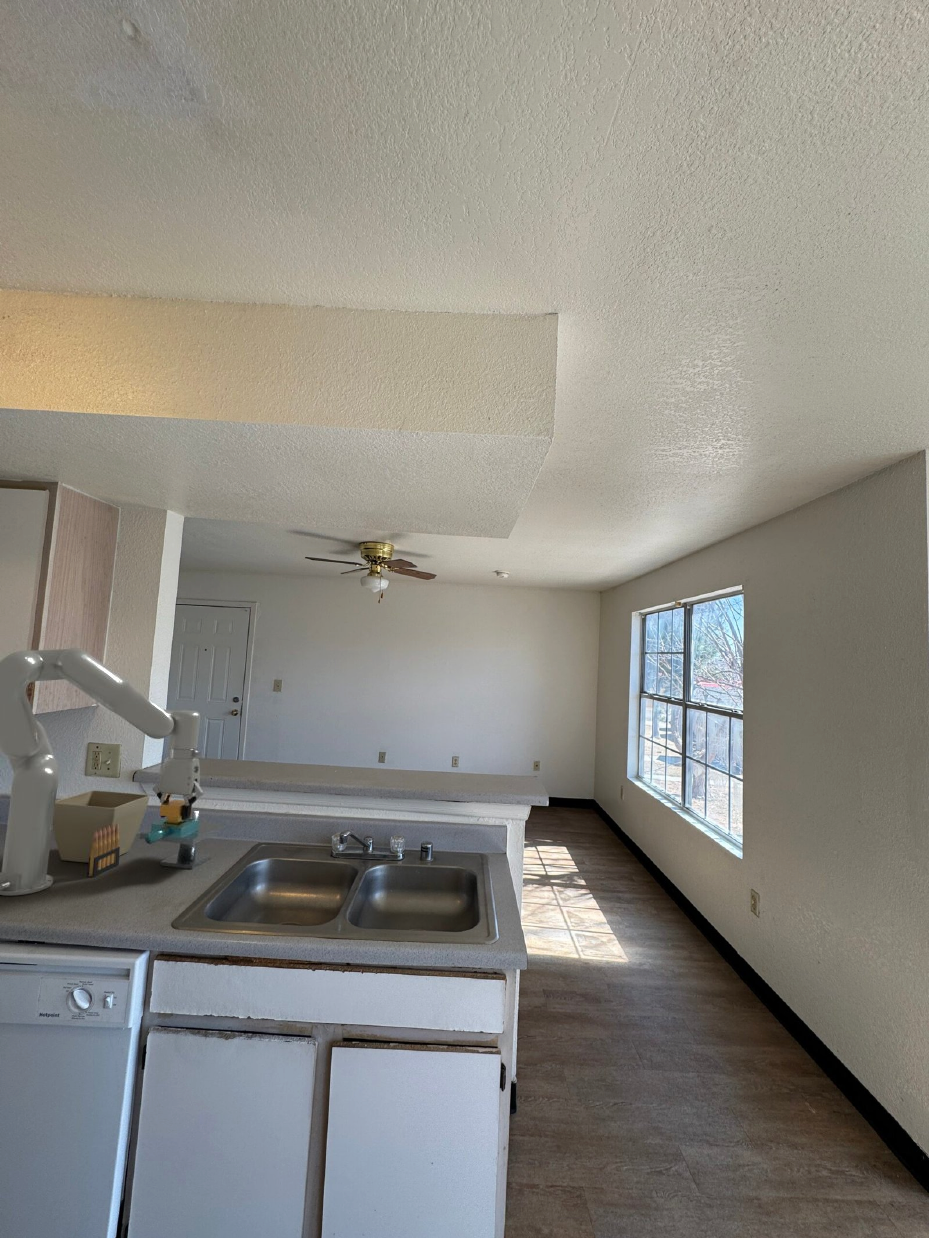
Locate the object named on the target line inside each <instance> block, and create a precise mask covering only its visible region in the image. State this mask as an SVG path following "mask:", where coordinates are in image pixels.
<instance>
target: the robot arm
mask: <svg viewBox="0 0 929 1238" xmlns="http://www.w3.org/2000/svg"><path fill="white" fill-rule="evenodd" d="M60 680H65V681H66V682H68V683H69V684H71V685H73V686H74V687H76V688H77V689H78V690H80V691H82V692H83V693H84V694H86V695H87V696H89V697H90V698H91V699H93V700H95V701H96V702H97V703H98V704H100V705H101V706H103V707H104V708H106V709H107V710H108V711H110V712H111V713H114V714H116V715H117V716H119V717H120V718H122V719H124V720H125V722H127V723H128V724H130V725H132V726H133V727H135V728H136V729H137V730H139V731H140V732H142V733H143V734H144V735H146V736H147V737H149V738H151V739H154V740H162V739H165V738H166V737H168V736H169V739H168V740H169V743H168V751H167V757H165V758H164V761H163V765H162V769H161V773H160V777H159V781H158V783H156V784H155V785H154V786H153V787H152V791H153V792H154V794H155V795H156V797H157V798H158V800H159V803H161V804H164V803H167V802H169V801H170V799H171V797H172V796H173V795H178V796H182V797H183V801H184V803H185V805H184V806H183V810H182V817H181V819H182V820H186V819H188V818H189V817H190V815H191V808H193V804H194V803H195V802H196V801H197V800H199V799H200V798H201V797H202V796H203V795H204V794H205V793H204V791H203V789H202V788H201V786H200V783H201V768H200V767H201V766H200V758H197V757H200V756H201V751H200V750H198V743H199V734H200V725H201V714H200V712H199V711H197V710H192V709H191V710H188V709H182V710H172V709H171V710H170V709H163V708H160V707H159V706H158V705H156V704H155V703H154V702H152V701H151V700H149V699H148V698H147V697H145V696H144V695H143V694H142V693H140V692H139V691H138V690H137V689H136V688H135V687H134V686H133V685H132V684H131V683H130V682H128V681H127V680H126V679H125V678H124V677H122V676H120V675H119V674H118V673H116V671H113V670H112V669H111V668H110V667H108V666H107V665H105V664H104V663H103V662H101V661H100V660H98V659H97V658H95V657H94V656H93V655H91V654H90V653H88V652H87V651H86V650H84V649H82V648H77V647H74V648H60V649H33V650H32V649H31V650H19V651H14V652H12V653H9V654H7V655H6V656H5V657H4V658H2V659H1V660H0V751H1V752H2V753H3V754H4V755H5V756H7V758H8V761H9V764H10V765H11V768H12V771H13V773H14V776H13V778H12V783H11V788H10V789H11V790H10V800H9V801H10V802H9V809H8V817H7V818H8V819H7V827H6V835H5V843H4V851H3V859H2V864H1V865H2V866H1V872H0V896H1V895H2V896H20V895H21V896H23V895H29V894H33V893H34V894H35V893H37V892H42V891H43V890H45V889H48V888H49V887H50V886H52V884H53V882H54V878H53V876H51V875H49V874H47V873H48V867H49V866H48V865H49V858H50V849H51V843H52V842H51V841H52V840H51V839H52V833H53V816H54V808H55V801H57V800H56V799H57V792H58V786H59V778H60V776H59V775H60V774H59V772H60V770H59V766H58V762H57V759H56V757H55V755H54V751H53V748H52V746H51V744H50V740H49V737H48V736H47V732H46V729H45V727H44V726H43V724H41V722H40V721H38V720H37V719H36V717H35V715H34V711H33V710H32V704H31V703H30V700H29V698H28V694H27V688H28V685H29V684H30V683H32V682H45V681H46V682H47V681H60ZM160 818H161V819H165V818H167V816H161V815H160Z"/></svg>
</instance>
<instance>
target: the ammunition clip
mask: <svg viewBox="0 0 929 1238" xmlns="http://www.w3.org/2000/svg"><path fill="white" fill-rule="evenodd" d="M119 852H120V847H119V825H118V823H117V824H116V827H114V825H113V826H112V828H111V830H110V826H108V828H107V830H106V828H105V827H104V829H103V831H101V829H100V830H99V832H98V834H97V831H95V833H94V836H93V842H92V846H91V855H90V857H89V862H87V873H86V878H87V877H88V878H95V877H97V876H99V875H101V874H104V873H105V872H107V871H109V870H111V869H113V868H115V867H117V866H119V865H120V856H119Z"/></svg>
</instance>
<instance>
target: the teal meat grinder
mask: <svg viewBox="0 0 929 1238" xmlns="http://www.w3.org/2000/svg"><path fill="white" fill-rule="evenodd" d="M200 814H201V810H200V809H199V808H193V807H192V811H191V815H190V817H189V818H188V819H186V820H183V823H182V824H180V825H173V824H166V822H167V817H164V818H162V819H160V820H158V821H156V822H153V823H151V826H150V829H147V830H144V831H142V832H140V833H139V839H141V840H145V843H146V844H148V845H151V844H154V843H156V842H158V841H159V842H165V843H173V844H174V843H175V844H178V849H177V853H174V854H172V855H171V856H168V857H166V858H165V859H163V860H160V862H159V866H164V867H171V866H172V867H173V868H180V869H188V870H193V869H195V868H197V867H198V865H199V866H200V865H202V864H204V863H205V862H207V861H209V860H210V858H211V859H212V855H211V854H206V853H205V854H204V853H198V852H197V845H198V844H197V843H199V842H201V841H203V840H205V839H207V838H209V837H211V836H213V835H215V834H217V833H219V832H220V831H223V830H225V828H226V823H225V822H224V823H222V822H214V821H205V820H200V816H201V815H200ZM208 859H209V860H208ZM203 862H204V863H203ZM196 866H197V867H196Z"/></svg>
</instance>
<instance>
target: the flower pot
mask: <svg viewBox="0 0 929 1238" xmlns="http://www.w3.org/2000/svg"><path fill="white" fill-rule="evenodd" d="M149 800H150V795H149V794H142V793H133V792H132V793H131V792H121V791H109V790H108V791H107V790H97V789H96V790H95V789H92V790H88V791H84V792H81V793H78V794H74V795H72V796H68V797H64V798H61V799H60V798H59V799H58V800H55V808H54V816H53V825H52V831H53V835H54V839H55V843H56V847H57V850H58V852H59V853H58V854H59V856H60V859H61V860H62V861H69V862H78V863H88V862H89V857H90V855H91V846H92V842H93V836H94V833H95V831H97V834H98V832H99V830H100V829H101V831H103V829H104V827H105V828H106V830H107V828H108V826H110V830H111V828H112V826H113V825H114V827H116V824H117V823H118V825H119V847H120V852H119V857H120V856H122V855H124V854H126V853H128V852H129V850H130V848H131V846H132V844H133V842H134V840H135V837H136V836H137V833H138V831H139V829H140V827H141V824H142V821H143V819H144V816H145V815H146V810H147V809H148V803H149Z"/></svg>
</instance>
